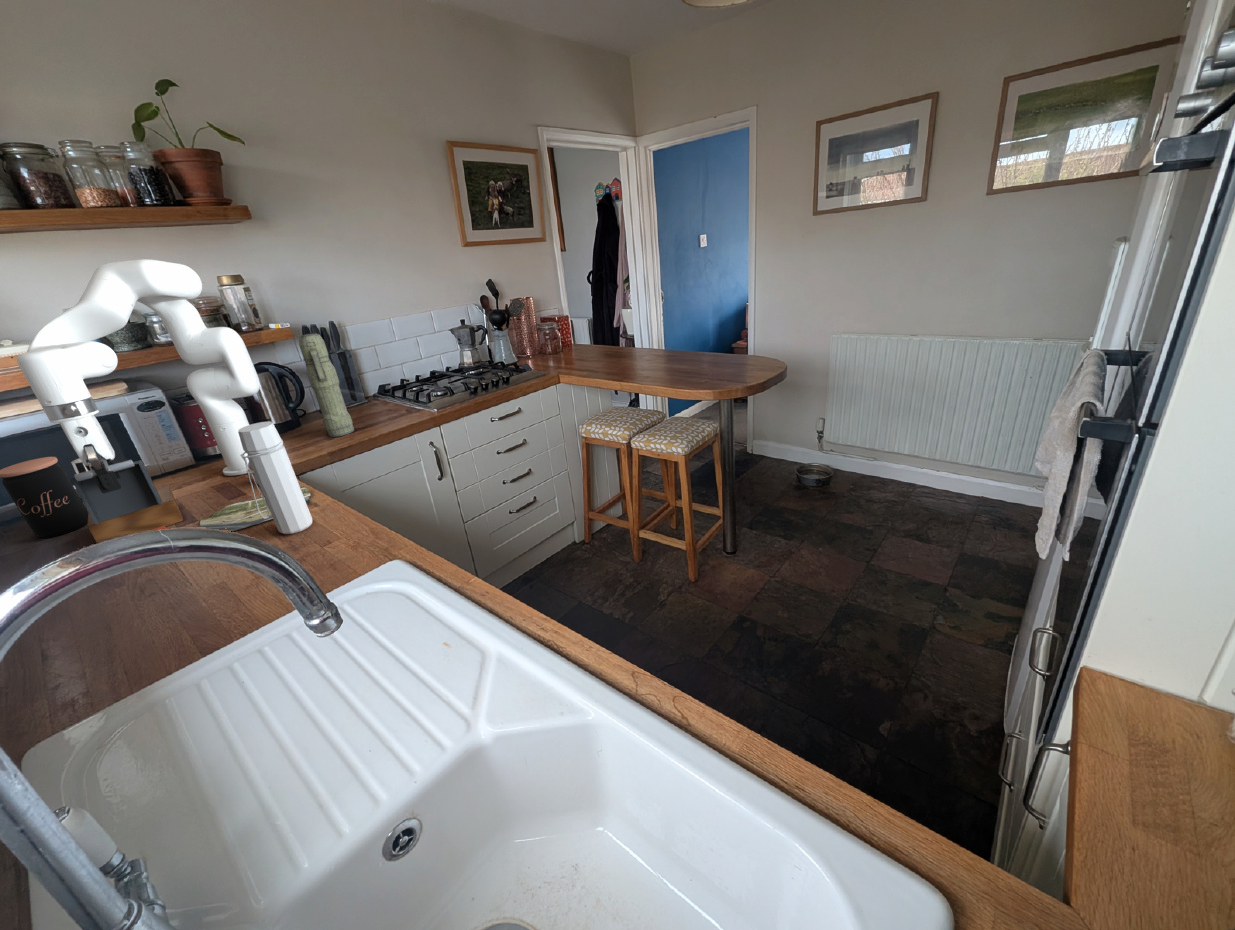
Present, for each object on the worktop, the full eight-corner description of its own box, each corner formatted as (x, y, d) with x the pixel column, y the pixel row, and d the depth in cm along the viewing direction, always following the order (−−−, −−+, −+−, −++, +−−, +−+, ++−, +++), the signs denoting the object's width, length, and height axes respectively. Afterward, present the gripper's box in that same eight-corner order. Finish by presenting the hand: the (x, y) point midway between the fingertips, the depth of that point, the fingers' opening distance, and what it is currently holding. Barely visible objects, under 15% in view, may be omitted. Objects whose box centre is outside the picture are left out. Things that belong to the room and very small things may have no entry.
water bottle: (308, 516, 126) (270, 418, 116) (318, 526, 121) (279, 424, 111) (266, 533, 121) (222, 431, 111) (274, 543, 115) (229, 438, 105)
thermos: (330, 439, 182) (295, 338, 168) (326, 432, 191) (292, 335, 177) (357, 432, 186) (325, 333, 173) (351, 425, 196) (321, 330, 182)
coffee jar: (28, 544, 129) (-15, 478, 122) (47, 526, 138) (8, 464, 131) (83, 530, 133) (45, 465, 126) (98, 514, 142) (64, 453, 135)
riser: (178, 505, 142) (168, 485, 139) (183, 520, 132) (172, 499, 130) (100, 529, 132) (88, 509, 130) (100, 548, 123) (87, 526, 120)
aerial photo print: (203, 547, 118) (200, 540, 117) (193, 522, 131) (190, 516, 130) (321, 503, 133) (319, 498, 132) (302, 485, 146) (300, 480, 145)
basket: (141, 458, 126) (137, 457, 118) (162, 502, 129) (161, 504, 120) (74, 476, 119) (65, 476, 111) (98, 522, 121) (91, 526, 113)
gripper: (95, 411, 104) (135, 488, 111) (96, 399, 116) (132, 470, 123) (43, 422, 100) (88, 502, 106) (49, 409, 112) (89, 482, 118)
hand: (111, 485), depth 115 cm, fingers open, 9 cm apart
